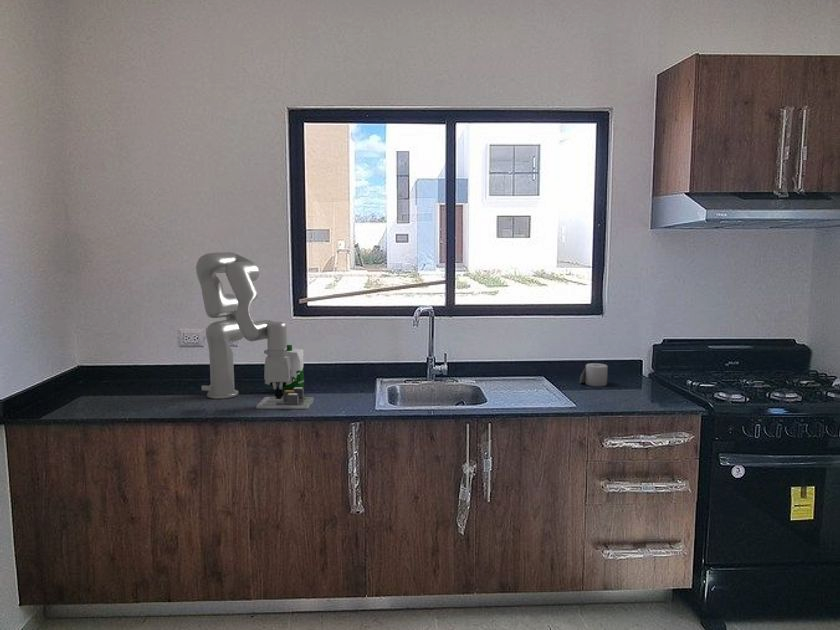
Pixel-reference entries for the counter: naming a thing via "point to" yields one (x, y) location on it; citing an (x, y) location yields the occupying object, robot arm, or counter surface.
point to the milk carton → (295, 368)
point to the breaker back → (299, 391)
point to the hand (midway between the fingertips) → (279, 398)
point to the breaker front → (292, 399)
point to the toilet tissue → (594, 374)
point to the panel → (284, 403)
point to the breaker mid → (287, 393)
